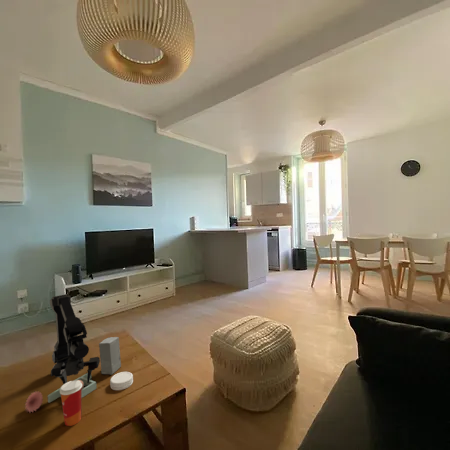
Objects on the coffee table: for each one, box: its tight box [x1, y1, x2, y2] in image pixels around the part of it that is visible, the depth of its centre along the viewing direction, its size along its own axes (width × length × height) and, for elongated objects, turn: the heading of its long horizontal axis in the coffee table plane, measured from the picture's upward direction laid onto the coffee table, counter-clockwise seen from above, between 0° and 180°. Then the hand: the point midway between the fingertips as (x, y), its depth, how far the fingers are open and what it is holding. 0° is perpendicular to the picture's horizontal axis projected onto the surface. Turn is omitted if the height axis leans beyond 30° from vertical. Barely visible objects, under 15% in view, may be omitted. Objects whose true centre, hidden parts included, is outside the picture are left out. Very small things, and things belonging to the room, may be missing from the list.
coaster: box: [109, 371, 134, 391], centre depth 129 cm, size 10×10×4 cm
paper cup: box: [60, 379, 82, 427], centre depth 106 cm, size 8×8×14 cm
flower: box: [24, 390, 44, 414], centre depth 114 cm, size 8×8×6 cm
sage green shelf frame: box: [47, 372, 97, 403], centre depth 124 cm, size 11×20×3 cm, turn 151°
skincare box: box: [98, 336, 122, 376], centre depth 141 cm, size 8×7×16 cm
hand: (77, 384), depth 124 cm, fingers open, 9 cm apart
